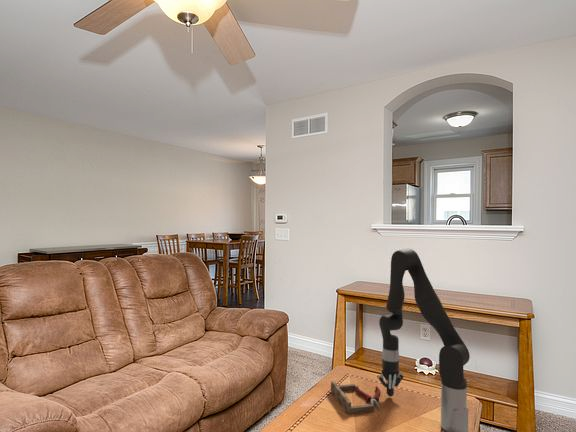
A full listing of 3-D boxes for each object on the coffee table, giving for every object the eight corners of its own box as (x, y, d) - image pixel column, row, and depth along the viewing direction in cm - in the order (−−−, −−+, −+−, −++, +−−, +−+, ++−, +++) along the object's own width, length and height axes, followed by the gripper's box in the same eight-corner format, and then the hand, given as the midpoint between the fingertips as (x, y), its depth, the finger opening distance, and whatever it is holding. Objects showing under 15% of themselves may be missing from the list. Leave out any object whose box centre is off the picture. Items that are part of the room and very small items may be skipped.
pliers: (363, 412, 153) (363, 406, 153) (354, 390, 173) (354, 384, 173) (390, 412, 153) (390, 406, 153) (378, 390, 173) (378, 385, 173)
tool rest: (373, 411, 153) (374, 400, 153) (347, 414, 150) (347, 402, 150) (354, 389, 173) (354, 378, 173) (330, 391, 170) (330, 380, 170)
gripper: (381, 362, 160) (381, 401, 160) (407, 359, 164) (407, 398, 163) (373, 356, 168) (373, 393, 167) (398, 354, 171) (398, 390, 171)
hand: (390, 395), depth 165 cm, fingers closed
